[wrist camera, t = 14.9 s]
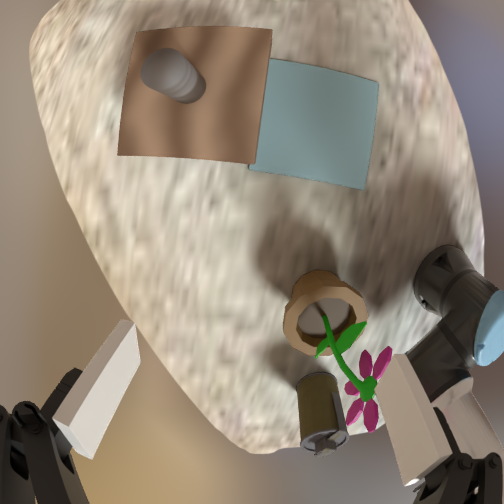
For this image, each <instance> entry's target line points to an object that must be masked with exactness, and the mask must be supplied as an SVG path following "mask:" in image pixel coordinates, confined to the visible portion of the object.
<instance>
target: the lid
mask: <svg viewBox="0 0 504 504" xmlns="http://www.w3.org/2000/svg"><path fill="white" fill-rule="evenodd" d="M271 46H272V29H262V28H250V27H230V26H198V27H178V28H166V29H157V30H149V31H142V32H137V33H136V36H135V41H134V45H133V49H132V54H131V58H130V63H129V68H128V73H127V79H126V85H125V91H124V97H123V105H122V112H121V121H120V130H119V141H118V154H117V156H157V157H176V158H191V159H204V160H215V161H225V162H235V163H244V164H252V165H254V164H255V163H256V156H257V148H258V141H259V133H260V126H261V118H262V111H263V103H264V96H265V89H266V82H267V74H268V67H269V60H270V53H271Z"/></svg>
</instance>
